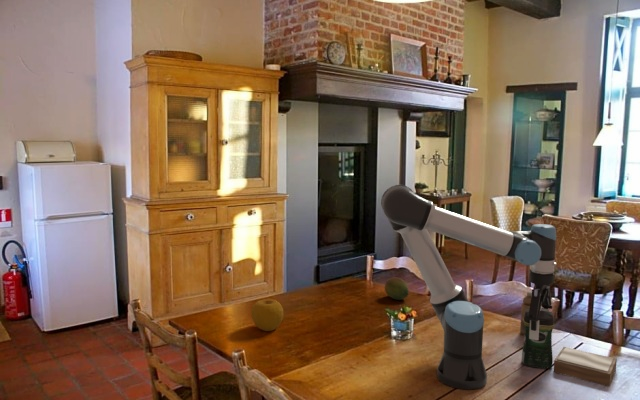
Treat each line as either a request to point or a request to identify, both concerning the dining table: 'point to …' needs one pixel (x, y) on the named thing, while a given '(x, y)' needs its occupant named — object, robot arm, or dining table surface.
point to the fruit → (396, 288)
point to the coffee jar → (539, 342)
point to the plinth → (585, 366)
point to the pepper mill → (524, 307)
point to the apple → (267, 314)
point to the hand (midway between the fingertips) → (539, 333)
